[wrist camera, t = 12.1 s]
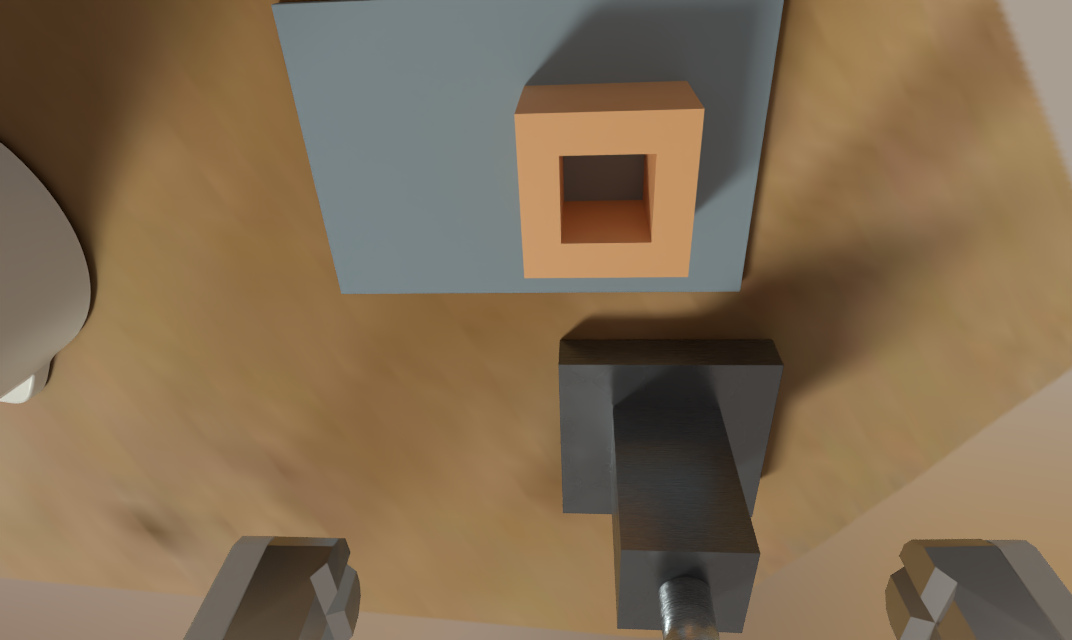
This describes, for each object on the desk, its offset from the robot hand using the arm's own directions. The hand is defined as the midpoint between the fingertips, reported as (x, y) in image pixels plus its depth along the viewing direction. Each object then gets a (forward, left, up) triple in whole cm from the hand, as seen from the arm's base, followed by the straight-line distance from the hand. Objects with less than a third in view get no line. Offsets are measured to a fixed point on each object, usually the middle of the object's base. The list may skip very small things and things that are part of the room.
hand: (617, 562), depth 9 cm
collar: (0, 0, -18) cm, 18 cm away
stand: (+3, -14, -19) cm, 24 cm away
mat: (-3, 0, -19) cm, 19 cm away
